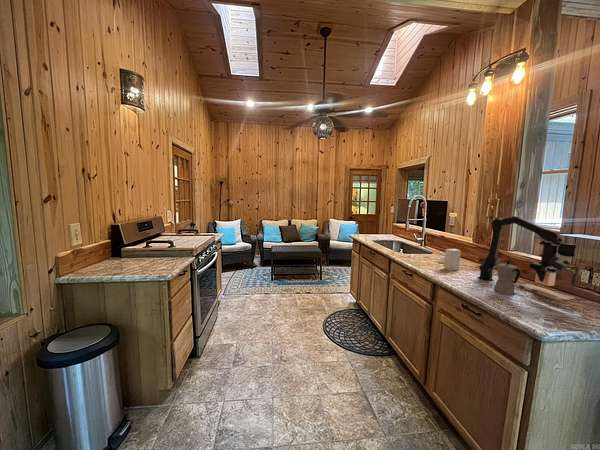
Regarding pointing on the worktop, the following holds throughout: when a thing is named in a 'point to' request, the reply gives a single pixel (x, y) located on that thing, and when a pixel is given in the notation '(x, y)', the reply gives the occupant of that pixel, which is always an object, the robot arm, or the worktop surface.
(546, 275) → the carton
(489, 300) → the worktop surface
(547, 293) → the shelf board
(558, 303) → the worktop surface
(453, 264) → the skincare box
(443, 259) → the napkin holder
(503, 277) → the coffeepot
